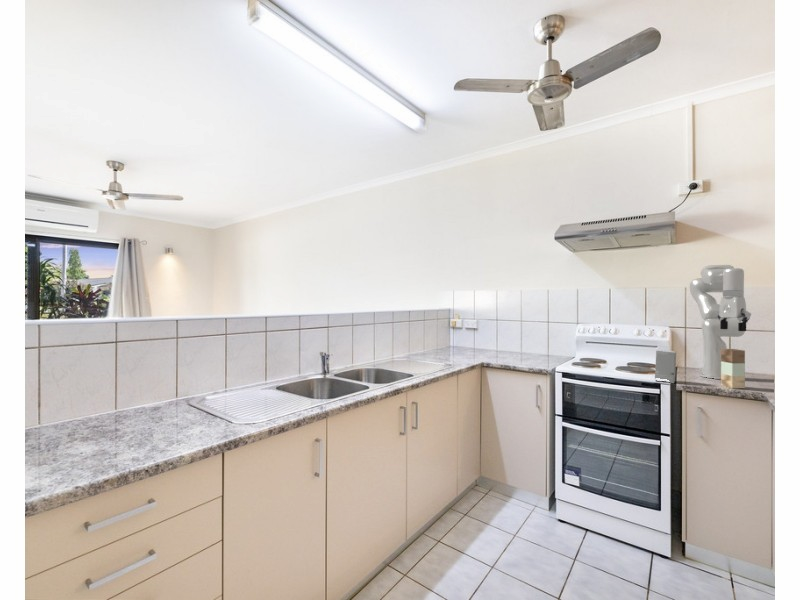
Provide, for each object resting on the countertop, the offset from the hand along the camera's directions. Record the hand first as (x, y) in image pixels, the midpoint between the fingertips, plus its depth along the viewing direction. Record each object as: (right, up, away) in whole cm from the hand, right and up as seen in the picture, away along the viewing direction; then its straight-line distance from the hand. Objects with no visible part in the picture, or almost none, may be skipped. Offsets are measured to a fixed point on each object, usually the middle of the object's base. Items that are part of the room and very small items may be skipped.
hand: (732, 330), depth 179 cm
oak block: (0, -27, 0) cm, 27 cm away
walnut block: (0, -15, 0) cm, 15 cm away
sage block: (0, -21, 0) cm, 21 cm away
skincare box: (-23, -27, +13) cm, 38 cm away
